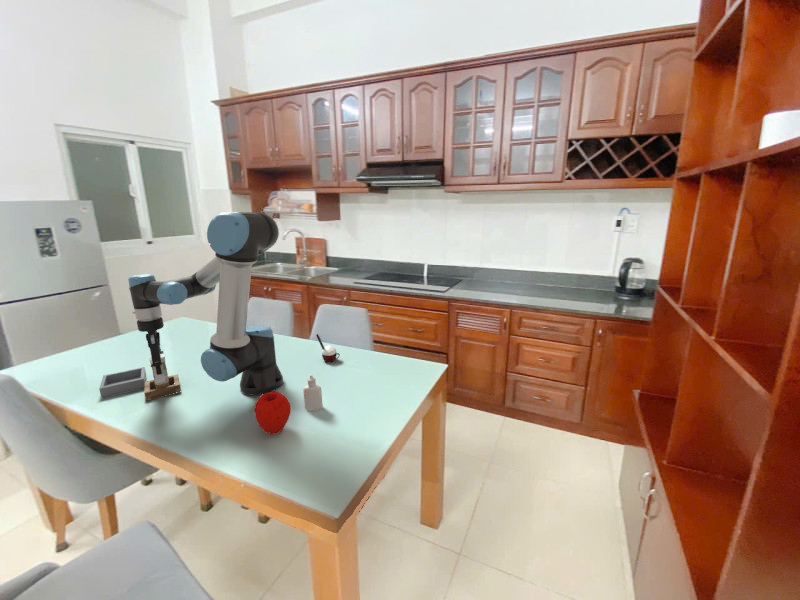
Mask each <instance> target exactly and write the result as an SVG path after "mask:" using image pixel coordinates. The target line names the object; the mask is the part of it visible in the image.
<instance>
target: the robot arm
mask: <svg viewBox="0 0 800 600" xmlns="http://www.w3.org/2000/svg"><path fill="white" fill-rule="evenodd" d="M278 227H279V226H278V224H277V221H275V220H274V219H273V218H272V217H271V216H270V215H268V214H266V213H264V212H260V211H251V212H249V211H246V212H245V211H229V212H221V213H219V214H217V215H215V217H212V219H211V220H210V222H209V224H208V225H207V229H206V230H207V231H206V238H207V239H206V240H207V242H208V244H210V245H209V247H210V249H212V251H214V253H215V256H214V257H213V258H212V259H211V260H210V261H208V262H207V263H206V264H204V265H203V266H202V267H201V268H200V269H198V271H196V272H195V273H194V274H192V275H190V276H186V277H181V278H177V279H172V280H171V279H170V280H167V281H157V280H156V278H155V275H154V274H151V273H141V274H134V275H130V276H129V277H128V286H129V287H128V290H129V293H130V297H131V301H132V306H133V309H134V310H133V311H132V314H135V319H136V320H137V321H136V324H137V329H138V330H137V331H139V332H143V333H144V332H147V333H146V334H145V340H146V341H147V347H148V348H149V351H150V358H151V357H152V363H153V364H152V365H151V364H150V367H151V368H152V367H153V368H154V373H155V378H156V383H160V382H165V381H166V380H165V375H164V370H163V365H162V362H161V357H160V355H164V350H162V348H161V343H160V342H161V339H160V338H161V336H160V332H159V331H158V330H160V329H162V328H164V327H165V325H164V319H163V317H162V316H163V314H162V307H161V305H169V306H173V305H180V304H182V303H184V301H185V300H188V299H192V298H196V297H199V296H206V295H207V294H209V293H212V292H214V291H215V289H216V287H217V285H218V299H217V301H218V302H217V315H216V332H215V333H214V334H212V335H211V336H210V343H209V344H210V345H209V348H207V349H205V350H204V351H203V352H202V353H201V355H200V364H201V366H202V369H203V370H204V372H205V373H206V374H207V376H208V377H210V378H211V379H213V380H215V381H218V382H227V381H229V380H231V379H234V378H236V377H237V376H238V375H240V374H241V377H240V382H239V387H240V392H241V393H243V394H244V395H247V396H260V395H263V394H265V393H268V392H276V390H278V389H280V388H281V387H282V386H283V385H284V378H283V377H284V376H283V374H282V372H281V370H280V367H279V366H278V364H277V357H276V347H275V337H274V331H273V328H271V327H269V326H265V325H249V326H247V322H248V312H249V301H250V291H251V289H250V288H251V279H252V267H253V265H254V264H256V263H257V262H258V261H259V260H258V259H259V256H261V255H263V254H264V253H266V251H268V250H270V249H271V248H273V246H274V245H275V244H276V243H277V241H278V239H279V236H280V235H279V234H280V232H279V228H278ZM155 362H156V363H155Z"/></svg>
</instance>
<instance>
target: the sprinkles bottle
mask: <svg viewBox="0 0 800 600" xmlns="http://www.w3.org/2000/svg"><path fill="white" fill-rule="evenodd" d="M160 357H161V362H162V365H163V370H164V375H165V380H166V381H165V382H160V383H156V378H155V373H154V368H153V367H151V369H152V376H153V380H154V382H155V386H156V389H157V388H161V387H165V386H169V379H168V376H169V375H168V370H167V365H166V356H165V355H164V354H160ZM149 363H150V366H151V365H152V364H153V363H152V357H151V356H150V357H149ZM155 363H156V362H155Z"/></svg>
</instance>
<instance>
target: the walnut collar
mask: <svg viewBox="0 0 800 600" xmlns="http://www.w3.org/2000/svg"><path fill="white" fill-rule="evenodd" d="M168 379H169V386H165V387H161V388H157V389H155V388H156V386H155V382H154V379H152V380H146V382H145V388H144V390H143V391H144V397H145V401H147V400H148V401H151V400H150V399H152V400H154V398H156V399H159V398H158V397H160V398H162V397H161V396H164V397H166V396H165V395H168V396H170V395H169V394H172V395H174V394H173V393H176V392H180V391H181V392H182V388H181V382H180V377H179V374H174V375H173V374H172V375H168ZM174 383H175V384H174ZM170 384H172V385H170ZM181 392H180V393H181ZM176 394H177V393H176Z"/></svg>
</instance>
